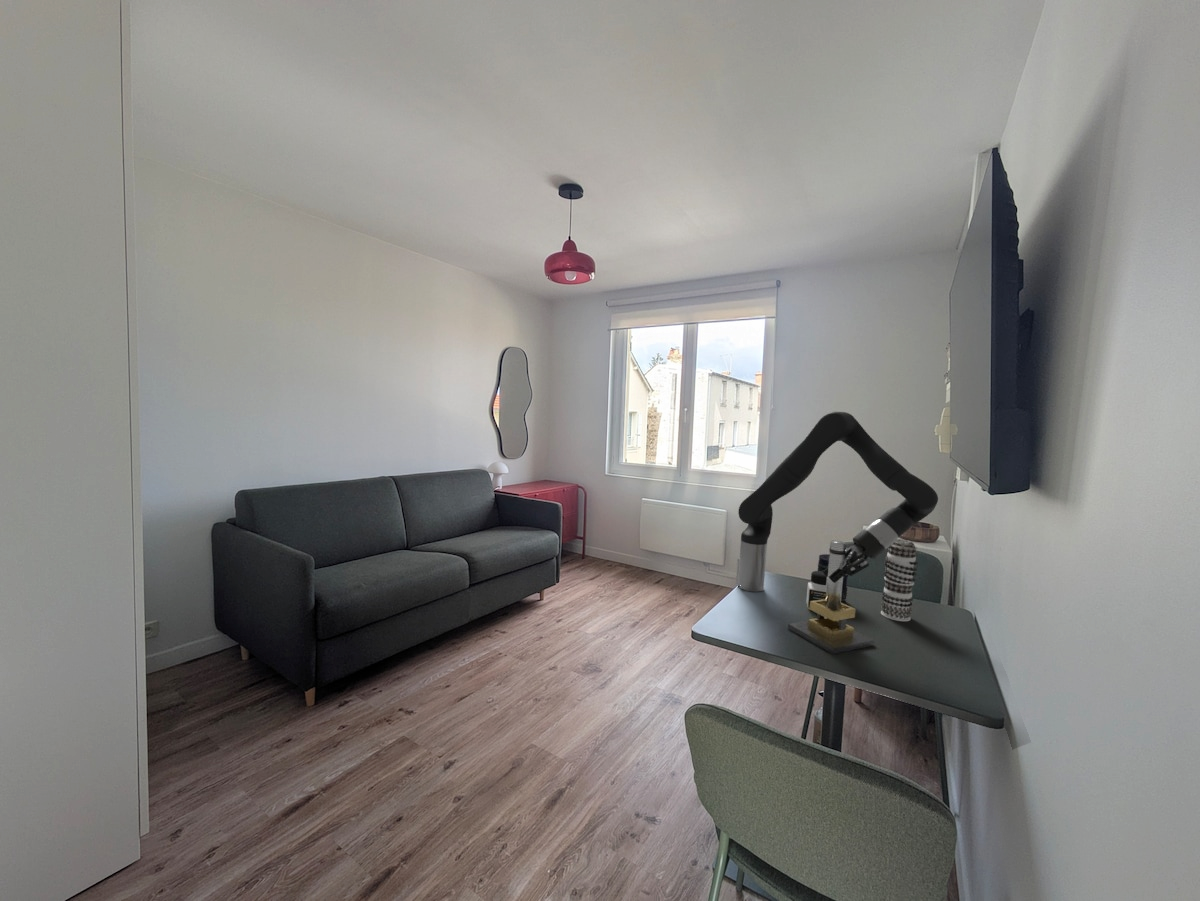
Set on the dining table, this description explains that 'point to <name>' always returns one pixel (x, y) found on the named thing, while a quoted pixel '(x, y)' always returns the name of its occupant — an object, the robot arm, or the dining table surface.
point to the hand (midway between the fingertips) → (828, 577)
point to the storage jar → (824, 564)
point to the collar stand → (831, 629)
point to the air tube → (835, 563)
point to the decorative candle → (899, 580)
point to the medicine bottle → (816, 587)
